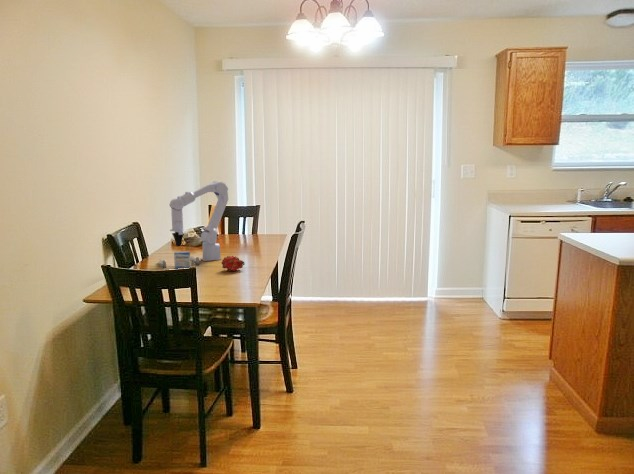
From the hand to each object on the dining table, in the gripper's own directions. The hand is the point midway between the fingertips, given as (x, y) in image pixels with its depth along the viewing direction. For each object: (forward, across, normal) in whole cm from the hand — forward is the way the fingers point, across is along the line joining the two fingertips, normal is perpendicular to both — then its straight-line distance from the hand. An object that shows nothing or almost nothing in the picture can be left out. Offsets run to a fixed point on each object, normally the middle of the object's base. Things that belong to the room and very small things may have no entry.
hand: (178, 246), depth 271 cm
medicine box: (+10, +13, -1) cm, 16 cm away
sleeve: (+9, +2, -1) cm, 10 cm away
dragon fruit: (+10, +30, +20) cm, 37 cm away
